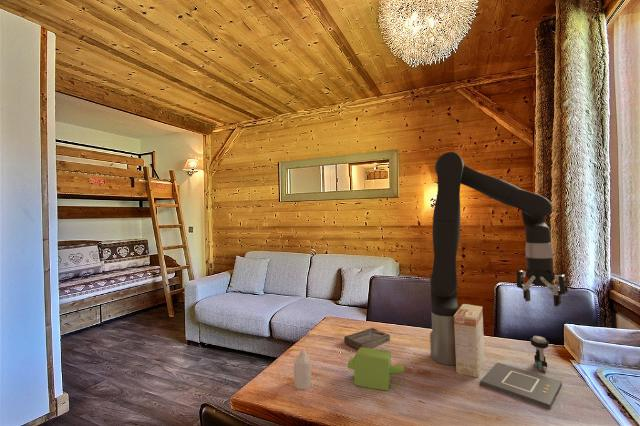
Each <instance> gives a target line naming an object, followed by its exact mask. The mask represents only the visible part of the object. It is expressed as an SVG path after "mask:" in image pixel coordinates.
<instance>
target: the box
mask: <svg viewBox="0 0 640 426" xmlns="http://www.w3.org/2000/svg"><path fill="white" fill-rule="evenodd" d="M390 341H391V334H389V333H386V332H384V331H381V330H378V329H376V328H374V327H371V328H367V329H365V330H361V331H358V332H355V333H351V334H347V335H345V336H344V338H343V343H344V344H346V345H347V346H349V347H350V348H353V349H356V350H357V351H358V350H359V348H360V347H362V348H372V349H373V348H374V347H379V346H380V345H383V344H385V343H388V342H390Z"/></svg>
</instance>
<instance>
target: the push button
mask: <svg viewBox="0 0 640 426" xmlns="http://www.w3.org/2000/svg"><path fill="white" fill-rule="evenodd" d="M529 341H530V345H531V346H533V347H534V348H535V354H534V366H535V367H536V368H538V369H539V370H540V371H544V372H548V371H547V368H548V363H547V361H546V356H545V354H544V350H545V349H547V348H549V344H550V342H549V340H547V339H546V338H545V337H544V336H541V335H540V336H539V335H533V336H532V337H531V338H529Z"/></svg>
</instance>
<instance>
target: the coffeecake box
mask: <svg viewBox="0 0 640 426" xmlns="http://www.w3.org/2000/svg"><path fill="white" fill-rule="evenodd" d="M454 330H455V352H456V364H455V371H456V373H458V374H461V375H465V376H471V377H474V378H476V379H477V378H479V376H480V373H481V370H482V369H483V365H484V362H485V360H486V358H485V341H484V340H485V337H484V336H485V335H484V314H483V306H481V305H474V304H469V303H467V304H466V303H462V304H461V306H459V307H458V311H457V312H456V313H455V315H454Z"/></svg>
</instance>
